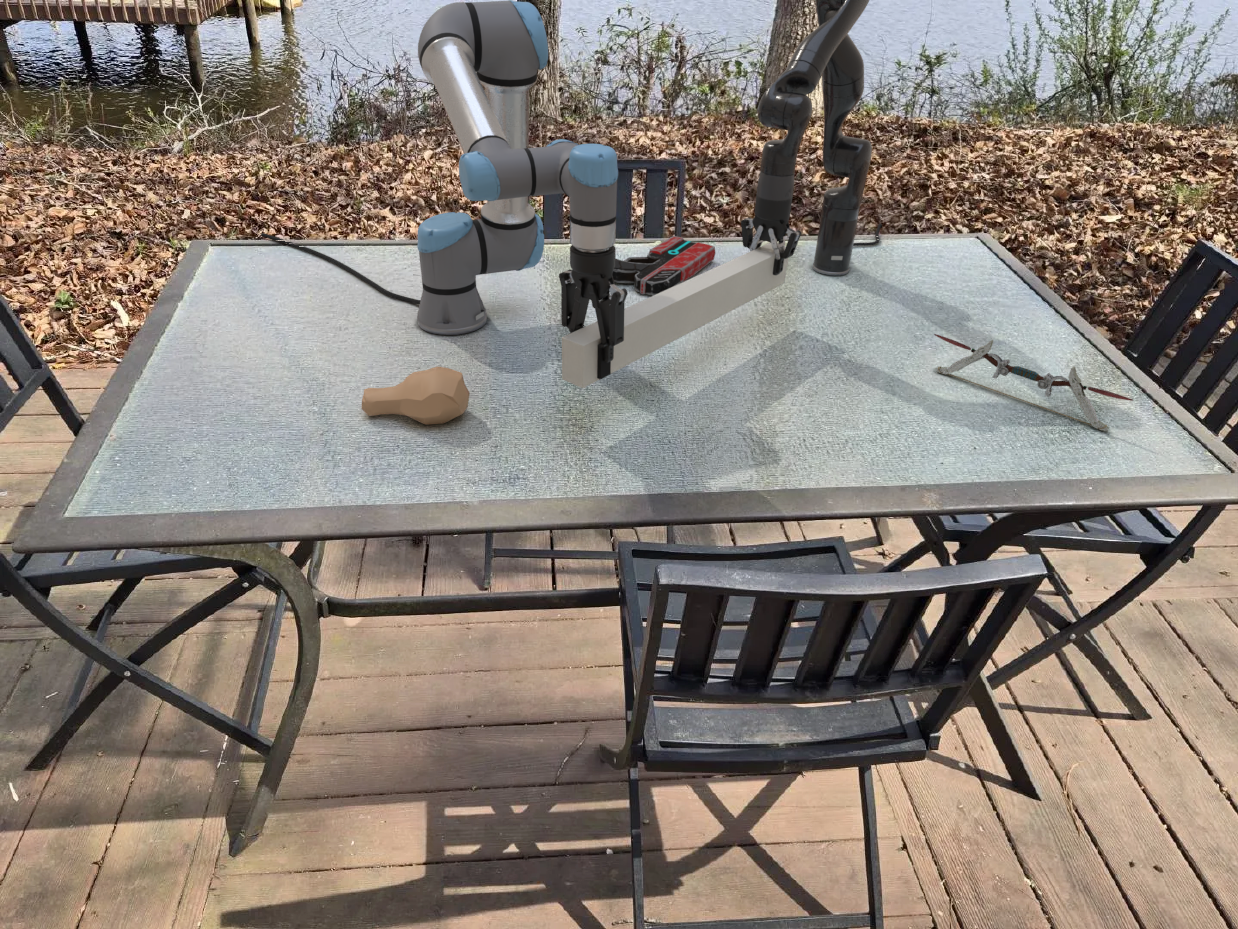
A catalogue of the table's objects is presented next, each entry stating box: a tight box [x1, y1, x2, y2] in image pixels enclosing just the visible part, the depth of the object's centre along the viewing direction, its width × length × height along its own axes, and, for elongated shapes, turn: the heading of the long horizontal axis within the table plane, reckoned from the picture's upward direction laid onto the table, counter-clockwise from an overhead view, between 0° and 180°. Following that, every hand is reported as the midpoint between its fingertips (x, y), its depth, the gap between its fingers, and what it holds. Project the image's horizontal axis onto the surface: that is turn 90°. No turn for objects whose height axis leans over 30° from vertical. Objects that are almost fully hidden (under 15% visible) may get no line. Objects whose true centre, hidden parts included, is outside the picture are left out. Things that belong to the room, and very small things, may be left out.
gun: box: [612, 235, 716, 296], centre depth 224 cm, size 4×31×19 cm
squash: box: [361, 365, 471, 426], centre depth 160 cm, size 11×20×9 cm, turn 90°
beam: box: [561, 242, 789, 389], centre depth 174 cm, size 68×5×8 cm, turn 140°
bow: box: [934, 333, 1134, 432], centre depth 170 cm, size 39×2×10 cm, turn 47°
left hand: (591, 370), depth 157 cm, fingers closed on beam, 5 cm apart
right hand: (765, 270), depth 193 cm, fingers closed on beam, 5 cm apart
